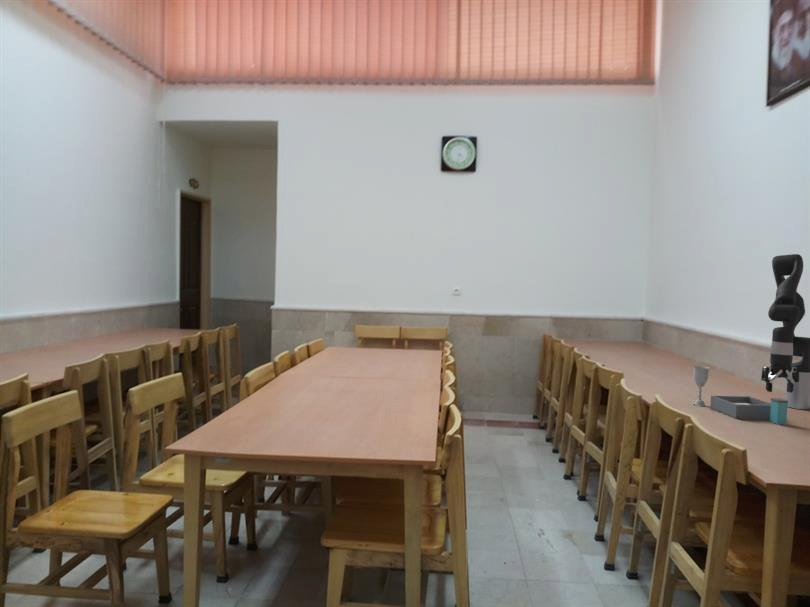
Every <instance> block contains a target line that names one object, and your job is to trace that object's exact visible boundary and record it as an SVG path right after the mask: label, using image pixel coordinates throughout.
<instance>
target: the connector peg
mask: <svg viewBox="0 0 810 607" xmlns="http://www.w3.org/2000/svg"><path fill="white" fill-rule="evenodd" d="M770 403H771V412H770V419H769V422H770V421H771V422H774V423H776V424H775V425H777V424H786V425H787V420H788V417H787V416H788V407H787V404H788V400H786V399H784V398H780V397H779V398H777V397H775V398H774V397H773V398H772V397H771V398H770ZM771 422H770V423H771ZM774 423H773V424H774Z"/></svg>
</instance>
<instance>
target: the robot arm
mask: <svg viewBox="0 0 810 607" xmlns="http://www.w3.org/2000/svg"><path fill="white" fill-rule="evenodd" d="M771 265H772V266H771V267H772V272H773V276H774V280H775V283H776V291H775V298H774V301H773V302H772V303H771V305H770V307H769V310H768V313H767V315H768V319H770V320H771V321H772V322H781V323H782V326H779V327H774V328H773V329H772V337H771V345H770V355H769V356H770V358H769V363H770V366H765V365H763V366H762V370H761V377H760V379H761V381H764V382H765V390H766V392H768V393H772V392H773V382H774V381H775V380H776V379H777V378H783V379H784V380H786V388H785V389H786V390H785V391H786V392H785V400H788V404H787V406H788V407H787V408H790V407H791V409H797V410H810V337H808V336H807V337H805V336H796V335H795V329H796V328H797V326H798V325H799V323H801V321H802V319H803V318H804V317H805V315H806V309H805V308H806V307H805V306H806V305H805V301H804V298H803V297H802V295H801V294H800V293H799V292H798V291H797V290H798V286H799V283H800V281H801V278H802V275H803V272H804V259H803V257H802V255H801V254H799V253H795V254H794V253H793V254H792V253H791V254H783V255H782V254H781V255H776V256H773V257H772V261H771ZM785 276H787V277H786V278H785ZM794 357H802V359H801V360H800V361H797V362H793V360H794V359H793V358H794Z"/></svg>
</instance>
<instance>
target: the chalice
mask: <svg viewBox="0 0 810 607" xmlns="http://www.w3.org/2000/svg"><path fill="white" fill-rule="evenodd" d="M692 368H693V374H692V376H693V380H694V382H695V385H696V386H697V387H698V390H697V391H698V393H697V397H698V398H697V399H695V400H694V403H693V404H695V405H694V406H696V405H700V406H699V407H706V405H705V401H704V400H703V399H702V395H703V394H702V391H703V390H702V387H705V385H706V384H707V381H708V380H709V370H710V366H704V365H703V366H702V365H692Z"/></svg>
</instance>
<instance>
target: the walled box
mask: <svg viewBox="0 0 810 607" xmlns="http://www.w3.org/2000/svg"><path fill="white" fill-rule="evenodd" d="M709 407H710V408H711V409H710V410H712V409H713V411H715V410H716V411H715V412H717V411H718V413H720V414H722V413H723V415H725V416H727V415H728V417H730V418H732V417H733V418H732V419H735V420H770V412H771V402H769V401H768V402H767V401H765V400H761V399H758V398H756V397H752V396H748V395H747V396H745V395H710V406H709Z"/></svg>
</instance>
